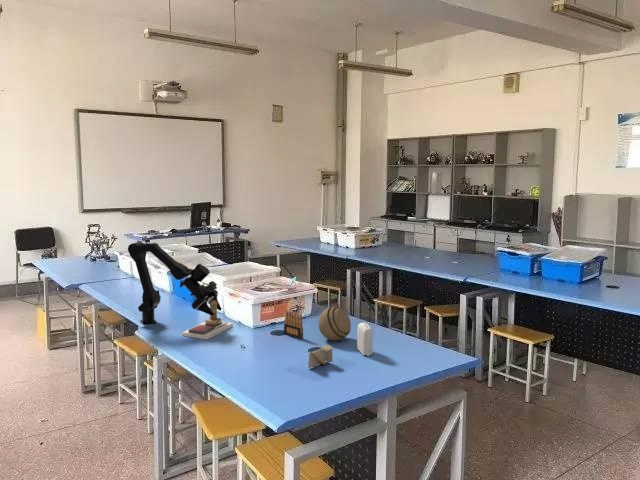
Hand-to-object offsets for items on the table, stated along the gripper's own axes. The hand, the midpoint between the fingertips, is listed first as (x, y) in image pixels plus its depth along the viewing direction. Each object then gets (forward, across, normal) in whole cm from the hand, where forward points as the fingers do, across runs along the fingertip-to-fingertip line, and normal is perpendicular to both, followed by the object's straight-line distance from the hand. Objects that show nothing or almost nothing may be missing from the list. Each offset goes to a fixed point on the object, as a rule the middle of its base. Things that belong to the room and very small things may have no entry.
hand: (217, 312), depth 258 cm
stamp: (+3, 0, +6) cm, 6 cm away
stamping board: (+4, -5, +7) cm, 9 cm away
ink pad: (+2, -10, +6) cm, 12 cm away
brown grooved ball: (+46, -2, -35) cm, 57 cm away
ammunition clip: (+32, -2, -21) cm, 39 cm away
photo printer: (+56, -16, -46) cm, 74 cm away
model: (+47, -36, -35) cm, 69 cm away
